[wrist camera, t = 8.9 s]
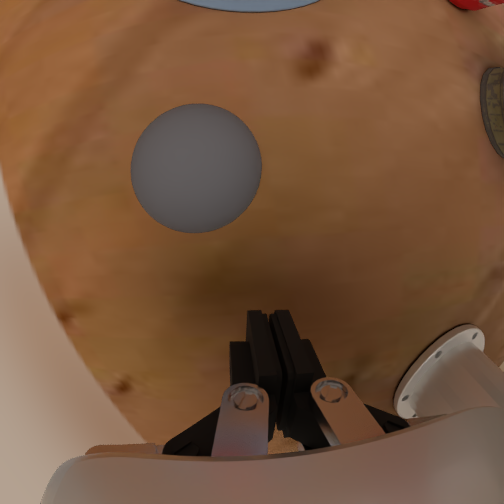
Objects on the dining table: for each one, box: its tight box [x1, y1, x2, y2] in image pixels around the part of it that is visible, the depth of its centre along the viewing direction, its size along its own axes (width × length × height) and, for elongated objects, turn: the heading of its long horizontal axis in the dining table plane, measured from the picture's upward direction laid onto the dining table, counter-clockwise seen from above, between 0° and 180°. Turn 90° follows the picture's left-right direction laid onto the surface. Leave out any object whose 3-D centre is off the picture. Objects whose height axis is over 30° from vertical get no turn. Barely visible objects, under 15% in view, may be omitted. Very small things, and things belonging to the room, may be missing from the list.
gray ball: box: [131, 104, 262, 233], centre depth 12 cm, size 6×6×6 cm
